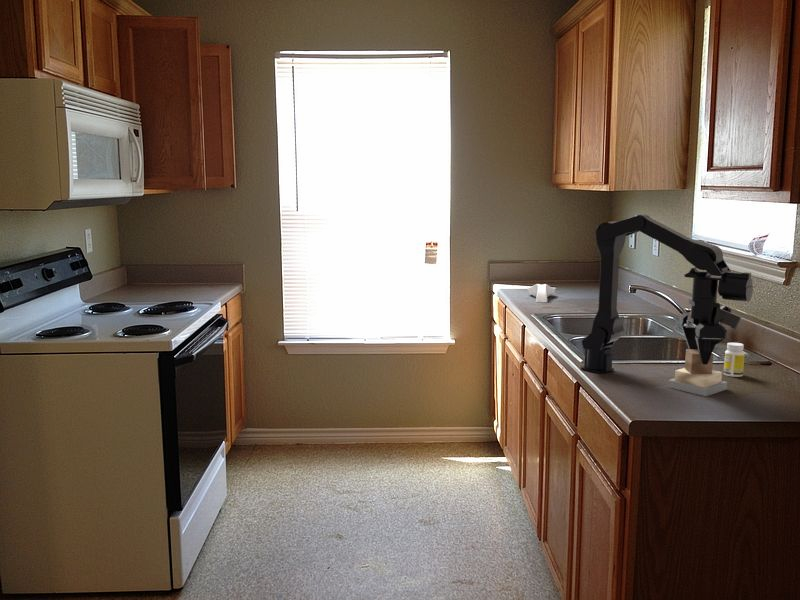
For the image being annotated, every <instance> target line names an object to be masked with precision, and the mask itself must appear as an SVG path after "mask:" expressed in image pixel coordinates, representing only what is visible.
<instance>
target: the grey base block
mask: <svg viewBox="0 0 800 600" xmlns="http://www.w3.org/2000/svg"><path fill="white" fill-rule="evenodd" d="M674 378H675V377H673V378H670V379H668V381H667V382H668V383H667V388H669V389H674V390H678V391H682V392H685V393H686V392H687V393H691V394H694V395H699V396H702V397H703V396H704V397H708V396H711V395H714V394H717V393H720V392H724V391H726V390H727V389H728V381H723V380H721V382H720V383H717V384H714V385H711V386H708V387H701V386H697V385H693V384H688V383H684V382H679V381H675V380H674Z"/></svg>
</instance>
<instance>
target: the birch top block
mask: <svg viewBox="0 0 800 600" xmlns="http://www.w3.org/2000/svg"><path fill="white" fill-rule="evenodd" d="M673 378H674V380H675V381H679V382H684V383H688V384H693V385H697V386H701V387H708V386H711V385H714V384H717V383H720V382H721V381H723V380H722V378H723V371H718V370H714V369H712V374H691V373H689V372H688V371H687V370H686V369H685V367H683V368H678V369H674V377H673Z"/></svg>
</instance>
